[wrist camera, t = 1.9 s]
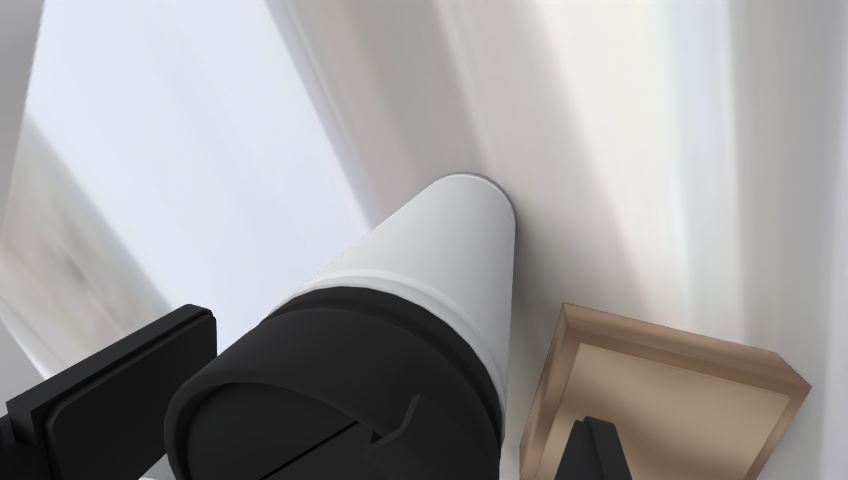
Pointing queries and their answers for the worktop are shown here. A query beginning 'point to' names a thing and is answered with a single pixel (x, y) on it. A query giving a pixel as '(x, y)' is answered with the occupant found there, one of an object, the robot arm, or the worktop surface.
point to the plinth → (660, 399)
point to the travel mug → (370, 358)
